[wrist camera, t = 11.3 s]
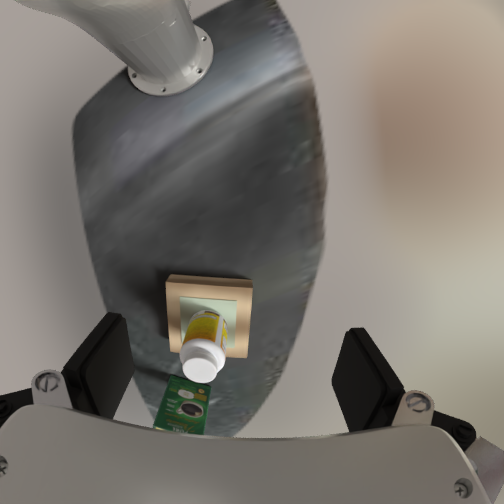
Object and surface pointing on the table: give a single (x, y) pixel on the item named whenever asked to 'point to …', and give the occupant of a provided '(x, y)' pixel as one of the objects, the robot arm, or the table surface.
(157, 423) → the coffee box
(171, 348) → the base
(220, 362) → the supplement bottle
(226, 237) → the table surface
